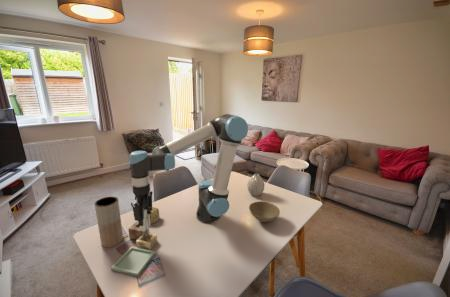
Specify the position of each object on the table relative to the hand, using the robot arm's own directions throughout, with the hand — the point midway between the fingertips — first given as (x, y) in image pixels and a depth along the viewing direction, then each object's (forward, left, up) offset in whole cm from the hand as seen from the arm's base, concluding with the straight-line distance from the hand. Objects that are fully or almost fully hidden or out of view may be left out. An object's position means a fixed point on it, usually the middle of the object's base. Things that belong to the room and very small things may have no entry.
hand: (145, 227), depth 99 cm
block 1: (+8, -5, -10) cm, 13 cm away
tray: (-1, +11, -10) cm, 15 cm away
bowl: (-56, -36, -10) cm, 67 cm away
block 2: (0, 0, -10) cm, 10 cm away
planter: (+19, +2, -10) cm, 21 cm away
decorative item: (+10, -19, -10) cm, 24 cm away
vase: (-48, -68, -10) cm, 84 cm away
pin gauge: (0, 0, -4) cm, 4 cm away
